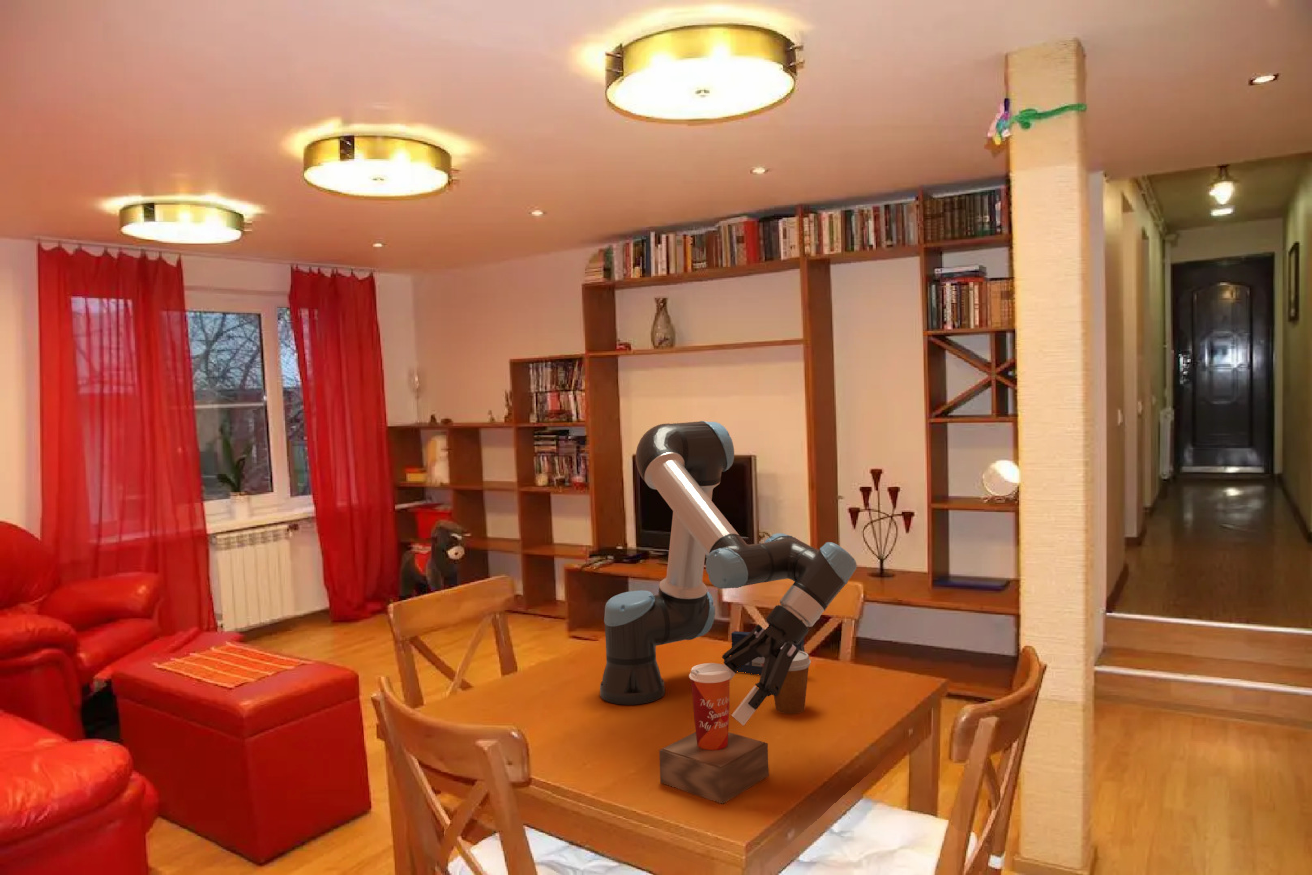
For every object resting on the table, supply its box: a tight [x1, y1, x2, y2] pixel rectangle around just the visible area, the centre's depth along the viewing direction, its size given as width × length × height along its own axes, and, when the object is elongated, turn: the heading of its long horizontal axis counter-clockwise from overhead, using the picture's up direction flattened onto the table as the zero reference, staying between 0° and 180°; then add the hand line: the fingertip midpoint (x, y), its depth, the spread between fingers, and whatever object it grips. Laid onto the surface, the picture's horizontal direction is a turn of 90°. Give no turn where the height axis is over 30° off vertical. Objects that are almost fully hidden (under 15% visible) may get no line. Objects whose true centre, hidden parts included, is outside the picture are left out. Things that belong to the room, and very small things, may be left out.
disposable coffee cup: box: [773, 651, 812, 715], centre depth 195 cm, size 10×10×12 cm
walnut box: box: [658, 731, 769, 805], centre depth 161 cm, size 14×14×6 cm
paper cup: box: [688, 662, 731, 750], centre depth 161 cm, size 8×8×14 cm
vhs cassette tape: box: [731, 630, 806, 676], centre depth 219 cm, size 18×3×10 cm, turn 61°
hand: (722, 708), depth 161 cm, fingers open, 13 cm apart
